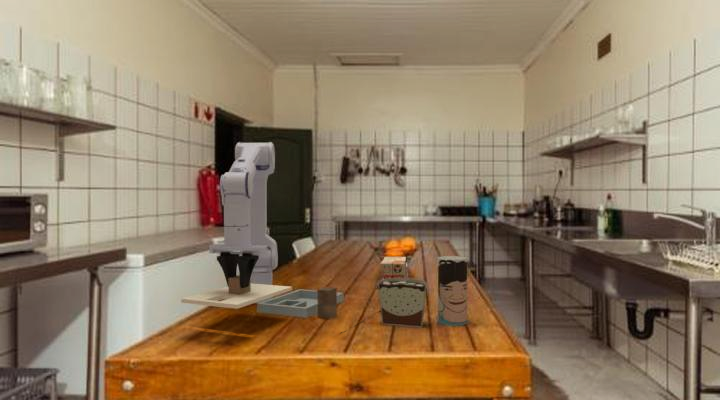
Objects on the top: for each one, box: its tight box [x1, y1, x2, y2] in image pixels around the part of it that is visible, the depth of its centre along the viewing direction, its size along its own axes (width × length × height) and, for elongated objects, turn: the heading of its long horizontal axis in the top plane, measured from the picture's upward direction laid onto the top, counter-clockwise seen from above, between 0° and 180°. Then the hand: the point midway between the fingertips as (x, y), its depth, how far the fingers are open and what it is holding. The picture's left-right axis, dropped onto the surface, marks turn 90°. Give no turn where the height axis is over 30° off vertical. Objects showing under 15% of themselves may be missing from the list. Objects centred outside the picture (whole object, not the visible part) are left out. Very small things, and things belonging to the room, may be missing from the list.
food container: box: [375, 277, 429, 328], centre depth 122 cm, size 12×6×10 cm, turn 71°
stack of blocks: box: [380, 256, 409, 280], centre depth 146 cm, size 21×6×12 cm, turn 172°
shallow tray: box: [256, 288, 345, 319], centre depth 136 cm, size 14×20×3 cm
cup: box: [437, 255, 468, 327], centre depth 122 cm, size 7×7×15 cm
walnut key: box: [316, 286, 338, 320], centre depth 125 cm, size 3×4×8 cm
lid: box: [180, 275, 293, 310], centre depth 117 cm, size 15×21×4 cm
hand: (238, 286), depth 117 cm, fingers closed on lid, 3 cm apart
